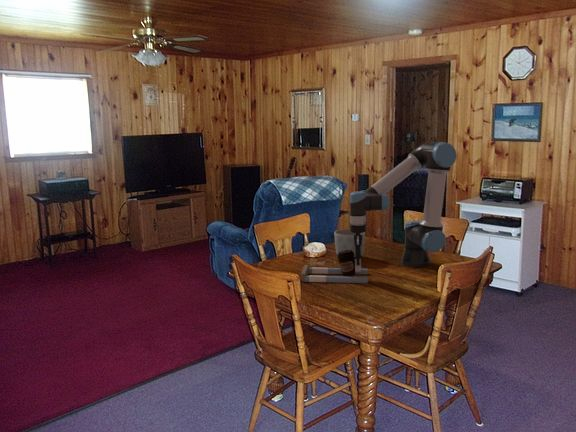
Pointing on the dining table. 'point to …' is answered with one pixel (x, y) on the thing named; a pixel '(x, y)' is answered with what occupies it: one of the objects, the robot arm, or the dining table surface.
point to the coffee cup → (347, 263)
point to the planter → (347, 241)
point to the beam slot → (330, 278)
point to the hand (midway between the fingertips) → (358, 271)
